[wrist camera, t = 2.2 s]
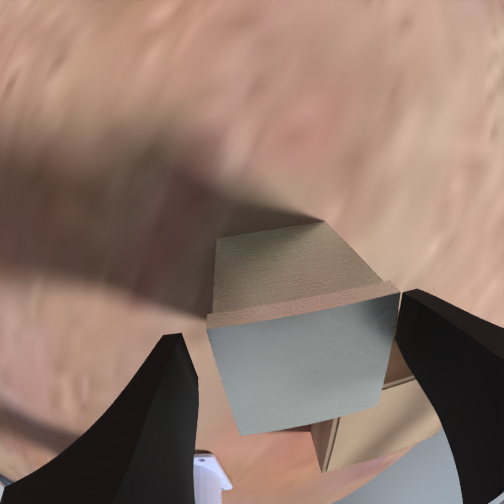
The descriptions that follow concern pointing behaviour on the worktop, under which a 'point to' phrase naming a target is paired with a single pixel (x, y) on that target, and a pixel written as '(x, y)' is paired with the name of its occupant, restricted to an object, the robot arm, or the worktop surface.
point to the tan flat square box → (378, 421)
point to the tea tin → (298, 327)
